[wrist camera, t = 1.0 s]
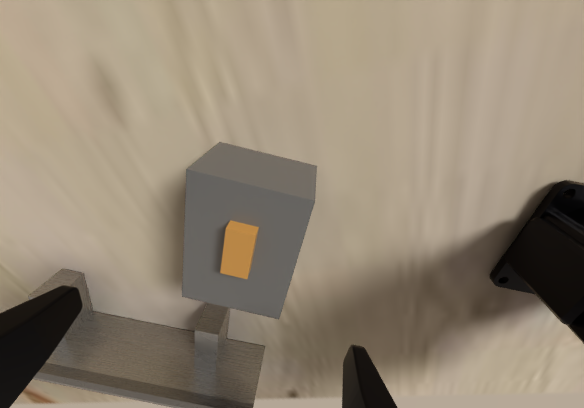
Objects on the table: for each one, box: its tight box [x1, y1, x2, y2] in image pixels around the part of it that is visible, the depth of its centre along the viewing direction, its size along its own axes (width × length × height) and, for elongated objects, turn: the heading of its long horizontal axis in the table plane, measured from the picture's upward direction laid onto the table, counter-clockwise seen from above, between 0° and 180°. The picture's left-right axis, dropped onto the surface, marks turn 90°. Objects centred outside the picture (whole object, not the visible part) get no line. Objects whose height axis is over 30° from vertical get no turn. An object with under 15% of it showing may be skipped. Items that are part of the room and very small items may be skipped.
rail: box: [28, 269, 265, 408], centre depth 18 cm, size 18×6×5 cm, turn 80°
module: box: [182, 142, 317, 319], centre depth 13 cm, size 5×7×5 cm
